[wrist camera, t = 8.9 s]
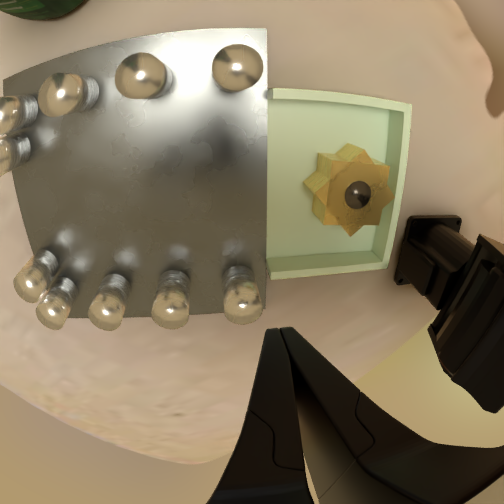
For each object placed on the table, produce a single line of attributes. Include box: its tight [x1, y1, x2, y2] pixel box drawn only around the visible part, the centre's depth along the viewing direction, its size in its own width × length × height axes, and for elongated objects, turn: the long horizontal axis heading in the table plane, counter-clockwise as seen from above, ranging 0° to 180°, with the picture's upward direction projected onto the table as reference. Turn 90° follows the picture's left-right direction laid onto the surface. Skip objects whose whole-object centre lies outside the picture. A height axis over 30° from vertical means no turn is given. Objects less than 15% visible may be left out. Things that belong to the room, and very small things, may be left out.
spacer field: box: [0, 28, 267, 331], centre depth 16 cm, size 18×20×4 cm
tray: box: [266, 88, 412, 280], centre depth 18 cm, size 9×12×2 cm
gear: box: [303, 143, 395, 237], centre depth 18 cm, size 6×6×2 cm
